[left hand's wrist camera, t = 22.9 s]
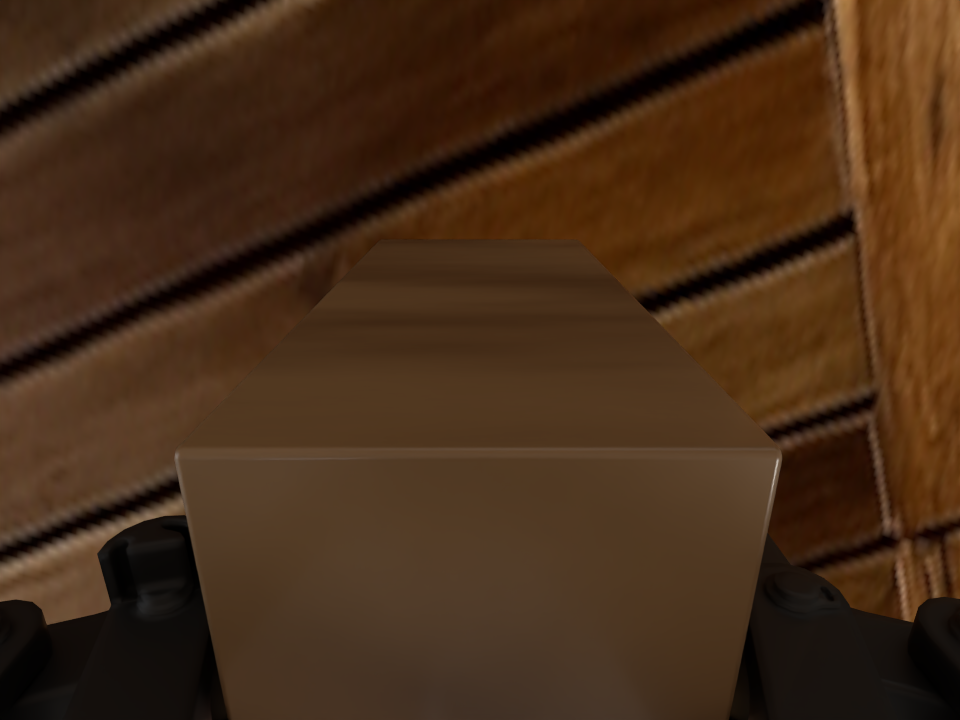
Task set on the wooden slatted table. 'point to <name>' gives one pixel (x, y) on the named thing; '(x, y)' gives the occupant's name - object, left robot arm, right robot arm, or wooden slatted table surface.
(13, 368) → the wooden slatted table surface
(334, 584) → the block
